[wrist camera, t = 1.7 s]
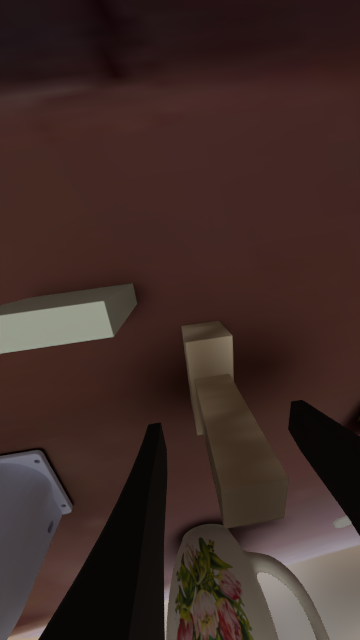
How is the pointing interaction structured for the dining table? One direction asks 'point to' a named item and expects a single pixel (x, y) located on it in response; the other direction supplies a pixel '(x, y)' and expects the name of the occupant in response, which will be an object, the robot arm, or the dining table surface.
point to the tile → (65, 317)
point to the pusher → (231, 432)
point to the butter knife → (342, 522)
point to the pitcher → (226, 590)
